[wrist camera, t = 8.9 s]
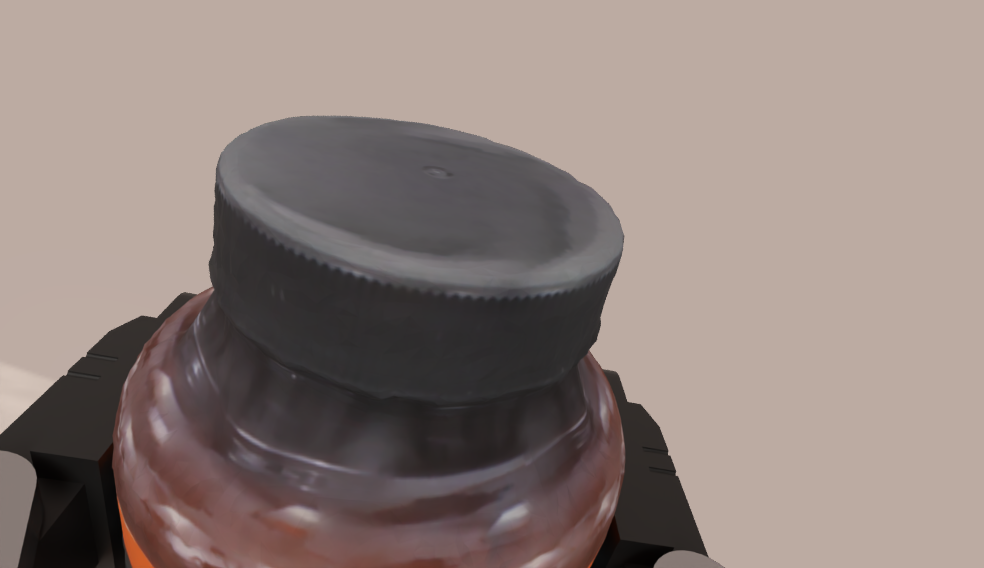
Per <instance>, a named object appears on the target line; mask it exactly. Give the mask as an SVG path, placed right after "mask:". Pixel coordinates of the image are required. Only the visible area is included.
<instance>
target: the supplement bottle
mask: <svg viewBox="0 0 984 568" xmlns="http://www.w3.org/2000/svg"><path fill="white" fill-rule="evenodd" d="M213 238H214V247H213V251H212V256H211V259H210V261H209V271H210V278H211V282H212V285H213V287H211V288H209V289H207V290H205V291H203V292H201V293H200V294H198V295H196V296H195V297H193V298H192V299H190V300H189V301H188V302H187V303H186V304H185V305H183V306H182V307H181V308H180V309H179V310H177V311H176V312H175V313H174V314H172V315H171V317H169V318H167V319H166V320H165V321H164V323H163V324H162V325H161V327H160V328H159V329H158V330H157V331H156V332H155V333H154V334H153V336H152V337H151V339H150V340H149V341H148V342H146V343H145V344H144V347H143V350H142V351H141V353H140V354H139V355H138V357H137V360H136V362H135V364H134V365H133V367H132V368H131V370H130V372H129V374H128V377H127V379H126V381H125V383H124V384H123V387H122V392H121V397H120V402H119V406H118V410H117V413H116V420H115V427H114V431H113V435H112V436H113V444H114V451H113V460H112V468H113V470H114V477H115V485H116V493H117V500H118V506H119V512H120V518H121V524H122V531H123V536H122V540H123V546H124V549H125V566H126V568H590V567H591V565H592V563H593V561H594V559H595V557H596V555H597V553H598V551H599V549H600V547H601V546H602V544H603V542H604V540H605V537H606V534H607V532H608V529H609V526H610V524H611V521H612V518H613V516H614V514H615V510H616V507H617V504H618V499H619V495H620V491H621V487H622V483H623V478H624V473H625V444H624V436H623V430H622V424H621V418H620V414H619V410H618V407H617V403H616V400H615V396H614V394H613V391H612V389H611V386H610V384H609V382H608V380H607V378H606V376H605V374H604V372H603V370H602V368H601V366H600V365H599V364H598V362H597V361H596V360H595V358H594V357H593V355H592V354H591V352H590V351H589V349H590V348H591V346H592V345H593V344H594V343H595V342H596V340H597V336H598V333H599V330H600V326H601V320H600V317H601V313H602V309H603V305H604V303H605V300H606V297H607V294H608V291H609V288H610V286H611V283H612V280H613V278H614V276H615V274H616V271H617V268H618V265H619V262H620V259H621V256H622V251H623V243H624V234H623V231H622V228H621V224H620V221H619V219H618V217H617V216H616V215H615V214H614V212H613V210H612V208H611V206H610V205H609V203H607V202H606V201H605V200H604V199H603V198H602V197H601V196H600V195H599V194H598V193H597V192H596V191H595V190H594V189H592V188H591V187H589V186H587V185H585V184H583V183H581V182H578V181H577V180H576V179H575V178H574V177H573V176H572V175H570V174H569V173H567V172H566V171H563V170H561V169H558V168H557V167H555V166H553V165H551V164H550V163H548V162H545V161H543V160H541V159H539V158H536V157H534V156H532V155H530V154H528V153H526V152H523V151H520V150H518V149H515V148H513V147H510V146H506V145H502V144H499V143H495V142H493V141H491V140H488V139H487V138H483V137H480V136H477V135H472V134H468V133H464V132H461V131H457V130H453V129H449V128H444V127H439V126H434V125H429V124H423V123H415V122H406V121H397V120H391V119H380V118H370V117H352V116H301V117H291V118H286V119H282V120H278V121H274V122H269V123H265V124H263V125H260V126H258V127H256V128H253V129H251V130H249V131H248V132H246V133H243V134H241V135H239V136H238V137H237V138H235V139H234V140H233V141H232V142H231V143H230V144H228V145H227V146H226V148H225V149H224V151H223V152H222V153H221V155H220V158H219V161H218V164H217V168H216V183H215V205H214V230H213Z"/></svg>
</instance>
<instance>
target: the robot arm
mask: <svg viewBox="0 0 984 568" xmlns="http://www.w3.org/2000/svg"><path fill="white" fill-rule="evenodd" d="M196 295H197V294H192V293H186V292H184V293H181V294H180V295H179V296H178V297H177V298H176V299H175V300H174V301H173V302H172V303H171V304H170V305H169V306H168V307H167V308H166V309H165V310H164V311H163V312H162V313H161V314H160V315H159V316H158V318H153V317H148V316H140V317H138V318H136V319H134V320H132V321H130V322H128V323H125V324H123V325H121V326H119V327H117V328H115V329H113V330H111V331H109V332H108V333H107V334H106V335H105V336H104V337H103V338H102V339H101V340H100V341H99V342H98V343H97V344H96V345H94V346H93V347H92V348H91V349H90V350H89V351H88V352H87V356H86V357H82V358H81V359H80V360H79V361H78V362H77V363H75V365H73V366H72V367H71V368H70V369H69V370H68V373H67V375H66V376H62V377H61V378H60V379H59V380H58V381H56V382H55V383H54V384H53V385H52V386H51V387H50V388H49V389H48V390H47V391H46V392H45V393H44V394H43V395H42V396H41V397H40V398H39V399H37V400H36V401H35V402H34V403H33V404H32V405H31V406H30V407H29V408H28V409H27V410H26V411H25V412H24V413H23V414H22V415H21V416H20V417H18V418H17V419H16V420H15V421H14V422H13V423H12V424H11V425H10V426H9V427H8V428H7V429H6V430H5V431H4V432H3V433H2V434H1V435H0V568H126V566H125V549H124V546H123V540H122V536H123V531H122V524H121V518H120V512H119V506H118V500H117V493H116V485H115V477H114V470H113V468H112V460H113V451H114V444H113V436H112V435H113V431H114V427H115V420H116V413H117V410H118V406H119V402H120V397H121V392H122V387H123V384H124V383H125V381H126V379H127V377H128V374H129V372H130V370H131V368H132V367H133V365H134V364H135V362H136V360H137V357H138V355H139V354H140V353H141V351H142V350H143V347H144V344H145V343H146V342H148V341H149V340H150V339H151V337H152V336H153V334H154V333H155V332H156V331H157V330H158V329H159V328H160V327H161V325H162V324H163V323H164V321H165V320H166V319H167V318H169V317H171V315H172V314H174V313H175V312H176V311H177V310H179V309H180V308H181V307H182V306H183V305H185V304H186V303H187V302H188V301H189V300H190V299H192V298H193V297H195V296H196ZM602 370H603V369H602ZM603 372H604V374H605V376H606V378H607V380H608V382H609V384H610V386H611V389H612V391H613V394H614V396H615V400H616V403H617V407H618V410H619V414H620V418H621V424H622V430H623V436H624V444H625V473H624V478H623V483H622V487H621V491H620V495H619V499H618V504H617V507H616V510H615V514H614V516H613V518H612V521H611V524H610V526H609V529H608V532H607V534H606V537H605V540H604V542H603V544H602V546H601V547H600V549H599V551H598V553H597V555H596V557H595V559H594V561H593V563H592V565H591V567H590V568H725V567H723V566H722V565H720V564H719V563H717V562H716V561H714V560H712V559H711V558H709V557H708V555H707V552H706V549H705V547H704V544H703V541H702V539H701V536H700V533H699V531H698V528H697V525H696V523H695V520H694V518H693V515H692V512H691V509H690V507H689V504H688V501H687V499H686V496H685V493H684V491H683V488H682V486H681V483H680V480H679V478H678V476H676V475H675V473H676V470H675V467H674V464H673V462H672V459H671V456H668V448H667V446H666V443H665V440H664V438H663V435H662V433H661V430H660V427H659V426H658V425H657V423H656V422H655V421H654V420H653V419H652V417H651V416H650V415H649V414H648V413H647V411H646V410H645V409H644V408H643V407H642V406H641V404H636V403H629V402H627V399H626V396H625V393H624V390H623V387H622V384H621V381H620V378H619V375H618V374H617V372H614V371H609V370H603Z"/></svg>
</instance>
